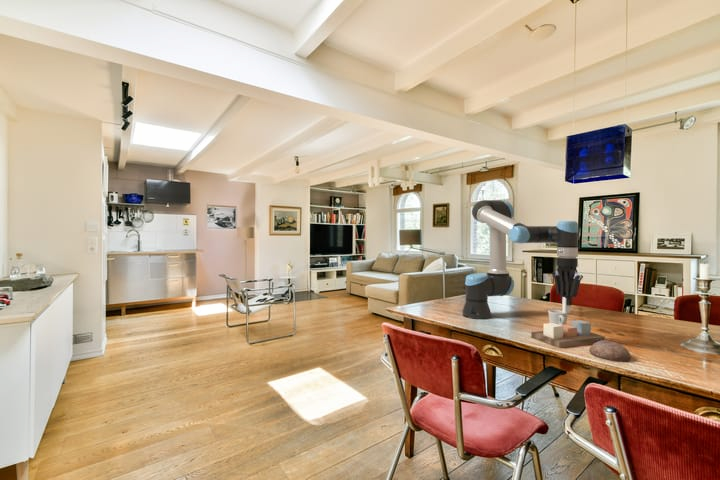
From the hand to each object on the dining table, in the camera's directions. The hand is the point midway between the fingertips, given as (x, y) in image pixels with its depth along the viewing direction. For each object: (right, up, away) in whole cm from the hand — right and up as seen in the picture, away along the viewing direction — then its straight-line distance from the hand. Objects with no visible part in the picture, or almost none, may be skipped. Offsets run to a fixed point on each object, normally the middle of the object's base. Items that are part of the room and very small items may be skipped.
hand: (566, 312), depth 137 cm
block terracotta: (0, -11, 0) cm, 11 cm away
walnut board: (0, -12, 0) cm, 12 cm away
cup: (+7, -12, +16) cm, 21 cm away
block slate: (+7, -10, +2) cm, 12 cm away
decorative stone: (+4, -12, -19) cm, 23 cm away
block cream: (-7, -10, -2) cm, 12 cm away
